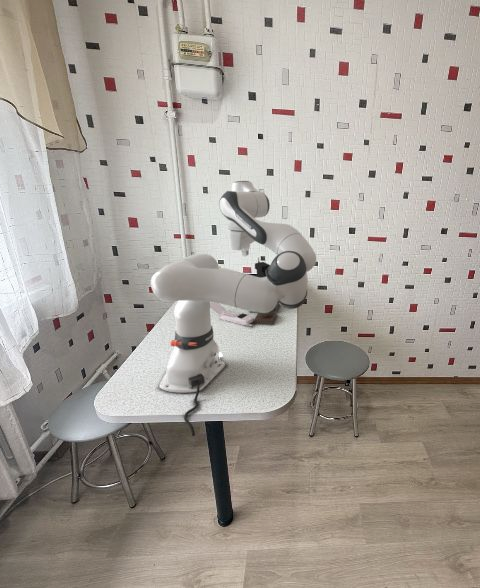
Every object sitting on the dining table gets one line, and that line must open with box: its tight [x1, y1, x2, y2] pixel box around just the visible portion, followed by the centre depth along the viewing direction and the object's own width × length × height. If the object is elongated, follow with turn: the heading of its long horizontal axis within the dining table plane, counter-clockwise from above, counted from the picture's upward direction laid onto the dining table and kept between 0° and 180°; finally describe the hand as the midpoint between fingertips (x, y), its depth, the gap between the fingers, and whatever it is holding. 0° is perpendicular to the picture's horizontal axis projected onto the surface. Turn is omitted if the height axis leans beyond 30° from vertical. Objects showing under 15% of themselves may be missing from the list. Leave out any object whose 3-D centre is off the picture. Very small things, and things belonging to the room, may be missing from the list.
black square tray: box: [249, 302, 280, 314], centre depth 164 cm, size 11×12×3 cm
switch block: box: [253, 311, 277, 326], centre depth 153 cm, size 10×8×4 cm
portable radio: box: [254, 257, 271, 278], centre depth 160 cm, size 8×6×25 cm
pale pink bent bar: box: [210, 302, 255, 327], centre depth 151 cm, size 6×6×25 cm
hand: (245, 255), depth 139 cm, fingers closed
